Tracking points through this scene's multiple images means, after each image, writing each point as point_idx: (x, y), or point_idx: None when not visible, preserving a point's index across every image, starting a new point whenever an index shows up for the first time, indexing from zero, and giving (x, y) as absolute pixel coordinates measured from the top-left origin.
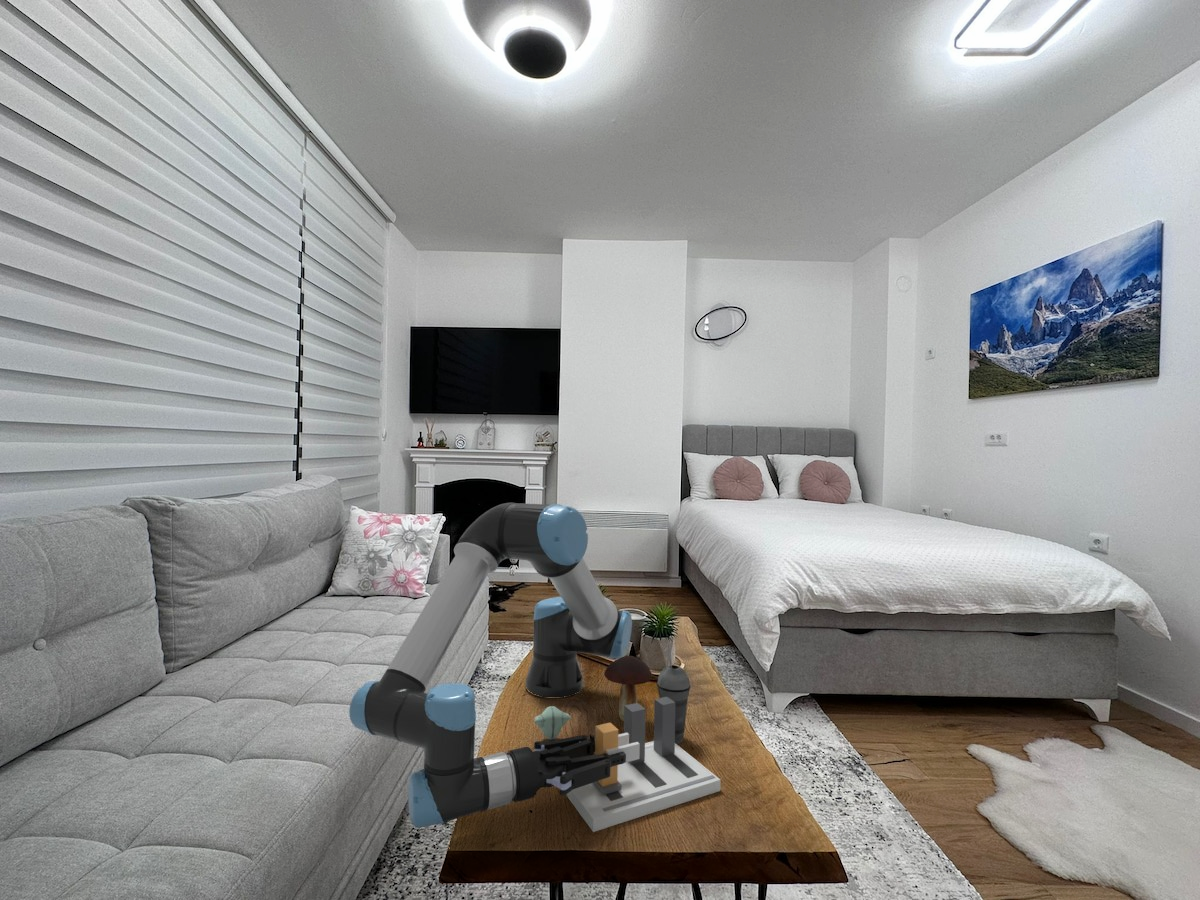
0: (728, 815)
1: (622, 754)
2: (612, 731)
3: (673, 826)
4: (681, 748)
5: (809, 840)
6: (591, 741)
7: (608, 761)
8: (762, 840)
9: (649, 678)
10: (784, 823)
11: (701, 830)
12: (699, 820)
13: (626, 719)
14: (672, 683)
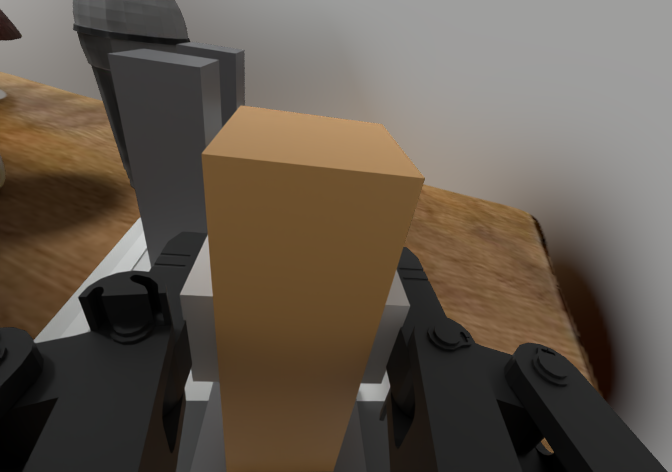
0: (445, 242)
1: (406, 259)
2: (395, 143)
3: (481, 334)
4: None
5: (508, 210)
6: (155, 337)
7: (558, 363)
8: (515, 243)
9: (16, 29)
10: (470, 209)
11: (494, 295)
12: (458, 281)
13: (146, 126)
14: (159, 14)
